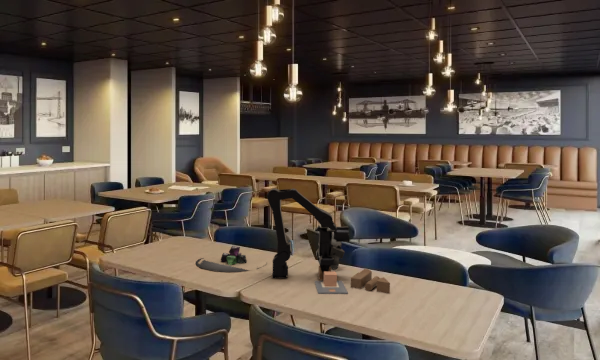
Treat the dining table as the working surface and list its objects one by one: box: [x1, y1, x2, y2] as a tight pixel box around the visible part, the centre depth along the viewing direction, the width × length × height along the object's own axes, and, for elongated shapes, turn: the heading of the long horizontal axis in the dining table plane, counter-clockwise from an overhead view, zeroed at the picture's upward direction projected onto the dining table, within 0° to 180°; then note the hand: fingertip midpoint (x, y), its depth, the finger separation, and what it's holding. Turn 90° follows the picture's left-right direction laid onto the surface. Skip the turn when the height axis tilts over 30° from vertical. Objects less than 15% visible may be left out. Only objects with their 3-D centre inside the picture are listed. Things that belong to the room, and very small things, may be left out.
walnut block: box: [317, 265, 332, 281], centre depth 226 cm, size 5×5×5 cm
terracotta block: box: [322, 270, 338, 286], centre depth 214 cm, size 5×5×5 cm
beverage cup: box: [329, 232, 342, 271], centre depth 241 cm, size 7×7×20 cm
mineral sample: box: [195, 245, 268, 273], centre depth 249 cm, size 35×35×9 cm
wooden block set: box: [350, 268, 391, 294], centre depth 217 cm, size 17×6×18 cm
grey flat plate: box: [314, 280, 349, 295], centre depth 212 cm, size 12×16×1 cm
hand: (324, 275), depth 226 cm, fingers closed on walnut block, 5 cm apart
